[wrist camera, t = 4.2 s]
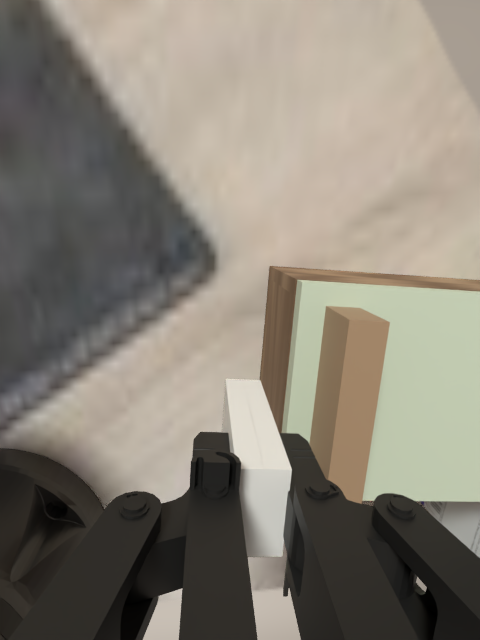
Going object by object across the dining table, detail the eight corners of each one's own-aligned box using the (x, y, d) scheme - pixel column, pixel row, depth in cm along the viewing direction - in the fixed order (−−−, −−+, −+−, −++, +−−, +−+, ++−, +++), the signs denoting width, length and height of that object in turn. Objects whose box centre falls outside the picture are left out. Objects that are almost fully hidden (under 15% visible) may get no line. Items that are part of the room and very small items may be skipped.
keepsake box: (256, 416, 29) (274, 483, 21) (269, 266, 26) (295, 279, 19) (460, 422, 30) (549, 487, 22) (489, 280, 28) (599, 298, 20)
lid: (275, 487, 21) (292, 546, 17) (297, 279, 18) (321, 291, 14) (553, 490, 22) (628, 545, 18) (605, 299, 20) (703, 315, 16)
